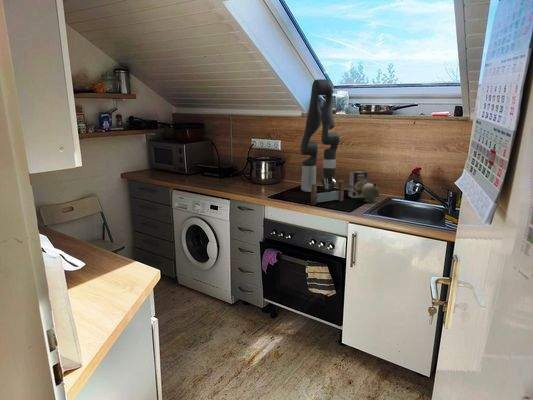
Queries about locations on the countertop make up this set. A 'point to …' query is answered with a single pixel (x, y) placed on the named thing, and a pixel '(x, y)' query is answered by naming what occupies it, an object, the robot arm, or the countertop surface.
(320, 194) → the gate
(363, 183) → the coffee box
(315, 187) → the gate frame
